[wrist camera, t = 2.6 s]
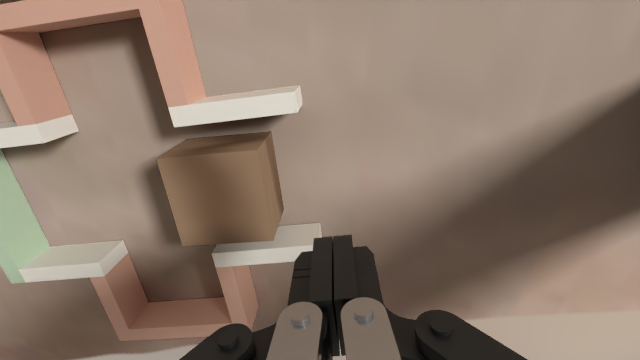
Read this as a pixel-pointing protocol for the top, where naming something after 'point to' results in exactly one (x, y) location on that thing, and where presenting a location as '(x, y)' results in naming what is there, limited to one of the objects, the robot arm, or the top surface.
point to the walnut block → (223, 188)
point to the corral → (57, 121)
